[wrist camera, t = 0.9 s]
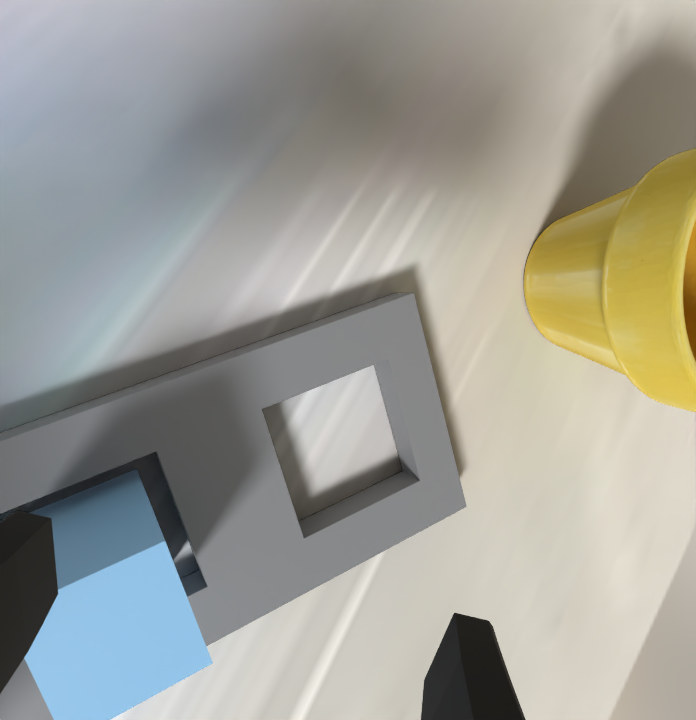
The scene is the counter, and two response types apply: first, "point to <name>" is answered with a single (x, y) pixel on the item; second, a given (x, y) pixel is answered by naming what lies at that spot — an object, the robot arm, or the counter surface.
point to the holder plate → (251, 465)
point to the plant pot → (626, 282)
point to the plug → (112, 607)
